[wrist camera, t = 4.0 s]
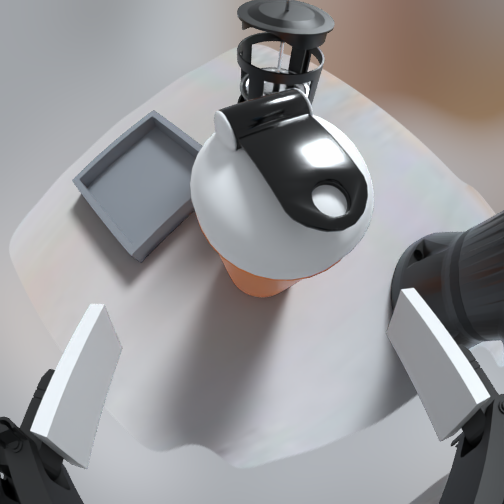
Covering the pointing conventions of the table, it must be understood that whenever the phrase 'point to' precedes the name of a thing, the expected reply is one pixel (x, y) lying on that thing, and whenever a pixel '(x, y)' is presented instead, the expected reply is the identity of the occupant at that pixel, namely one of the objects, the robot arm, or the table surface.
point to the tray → (142, 183)
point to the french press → (282, 46)
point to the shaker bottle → (279, 192)
